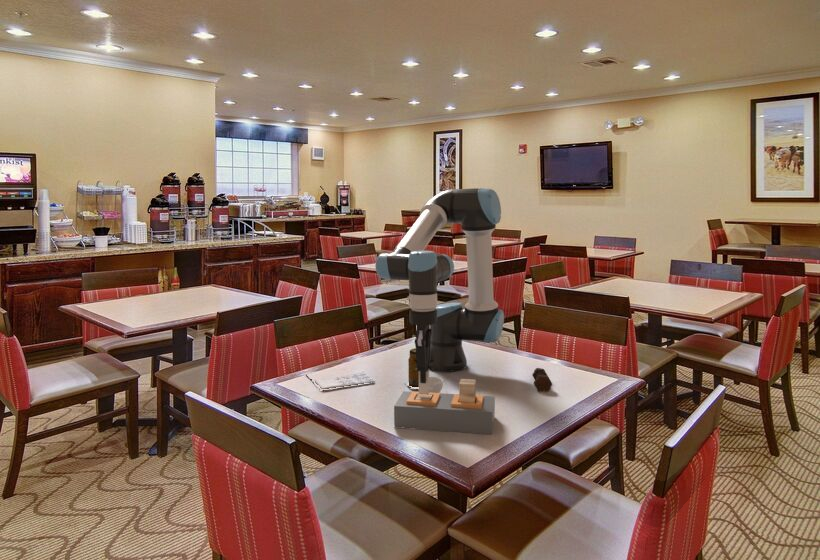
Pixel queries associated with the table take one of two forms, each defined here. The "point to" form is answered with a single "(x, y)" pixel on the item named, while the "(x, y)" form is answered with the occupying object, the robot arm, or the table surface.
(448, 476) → the table surface
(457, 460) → the table surface
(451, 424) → the block
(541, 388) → the hex dumbbell
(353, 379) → the bicycle print napkin
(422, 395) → the peg
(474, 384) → the peg
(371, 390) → the table surface
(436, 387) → the teacup
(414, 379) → the condiment
